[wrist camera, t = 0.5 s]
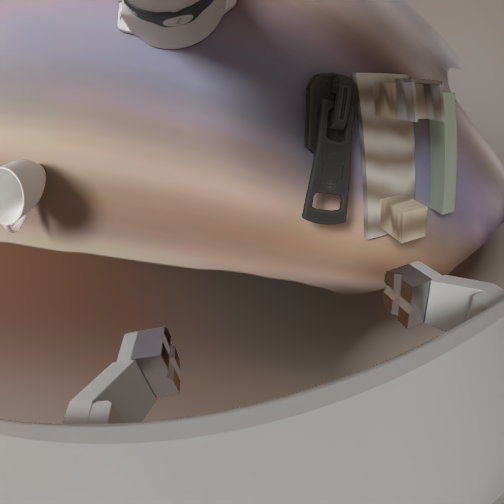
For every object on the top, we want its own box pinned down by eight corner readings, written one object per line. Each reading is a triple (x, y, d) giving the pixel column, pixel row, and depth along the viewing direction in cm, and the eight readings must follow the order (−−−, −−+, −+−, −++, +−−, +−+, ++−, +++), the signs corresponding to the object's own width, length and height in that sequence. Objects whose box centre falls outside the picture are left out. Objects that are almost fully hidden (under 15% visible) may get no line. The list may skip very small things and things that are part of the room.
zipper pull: (299, 223, 46) (325, 64, 35) (287, 209, 52) (309, 69, 41) (348, 226, 48) (376, 80, 37) (332, 213, 53) (355, 82, 43)
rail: (425, 90, 45) (442, 91, 40) (438, 91, 45) (454, 93, 41) (428, 206, 57) (442, 214, 53) (439, 204, 57) (453, 211, 53)
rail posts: (351, 73, 42) (395, 67, 30) (403, 75, 43) (450, 74, 31) (364, 236, 57) (399, 267, 46) (409, 224, 58) (447, 251, 46)
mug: (20, 149, 37) (-17, 163, 26) (59, 156, 40) (27, 172, 29) (14, 210, 41) (-18, 236, 31) (51, 219, 44) (22, 249, 34)
